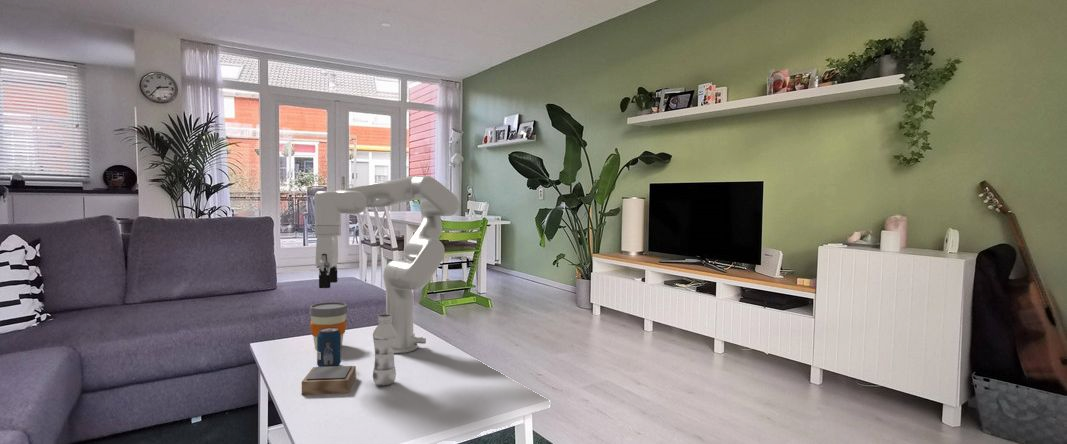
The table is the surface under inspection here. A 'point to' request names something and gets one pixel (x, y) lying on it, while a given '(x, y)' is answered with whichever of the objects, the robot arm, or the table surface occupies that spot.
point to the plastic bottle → (384, 351)
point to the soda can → (328, 347)
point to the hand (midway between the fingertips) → (328, 285)
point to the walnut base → (329, 380)
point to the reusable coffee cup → (328, 317)
